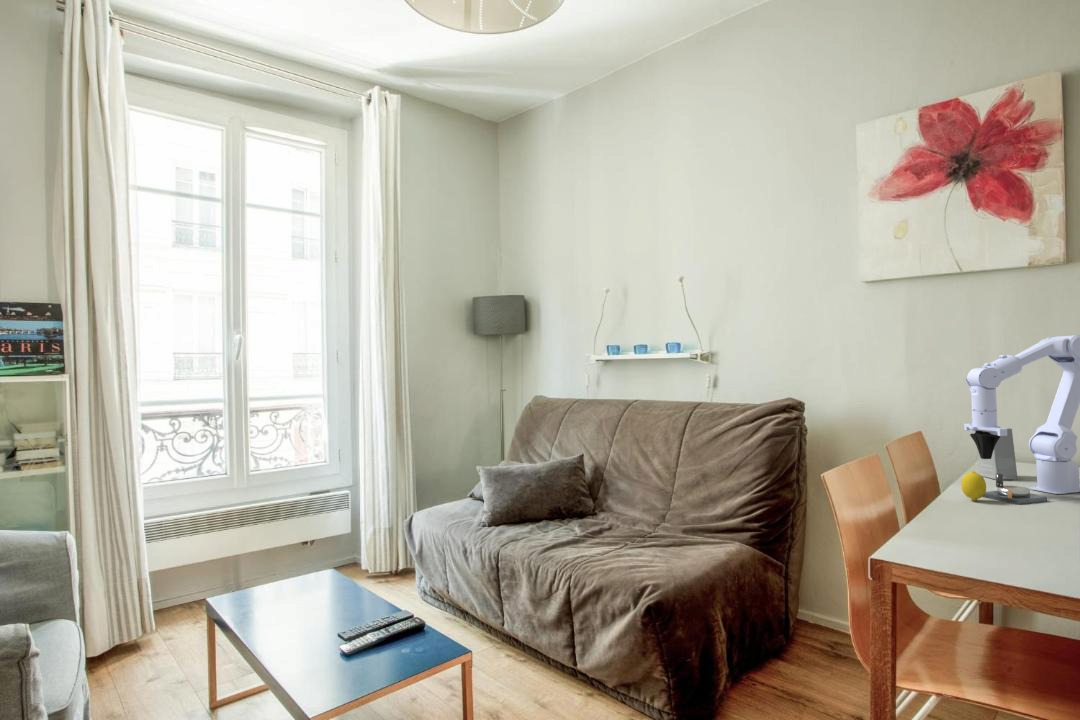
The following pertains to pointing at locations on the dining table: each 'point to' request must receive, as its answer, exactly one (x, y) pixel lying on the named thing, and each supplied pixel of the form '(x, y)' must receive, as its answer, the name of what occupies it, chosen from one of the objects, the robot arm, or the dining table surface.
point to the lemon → (973, 485)
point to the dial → (1010, 488)
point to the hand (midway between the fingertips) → (985, 458)
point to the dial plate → (1015, 498)
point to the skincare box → (1000, 459)
